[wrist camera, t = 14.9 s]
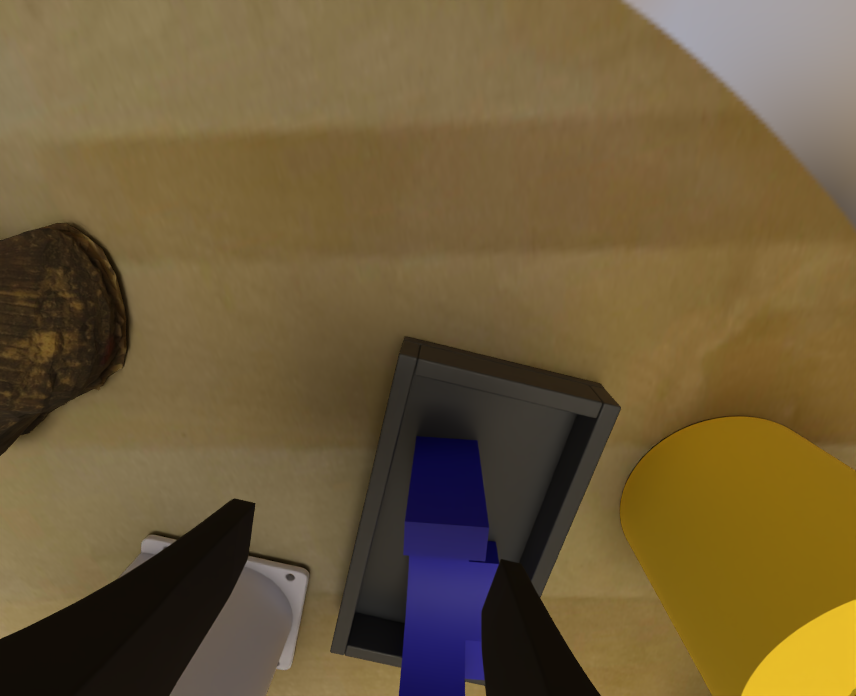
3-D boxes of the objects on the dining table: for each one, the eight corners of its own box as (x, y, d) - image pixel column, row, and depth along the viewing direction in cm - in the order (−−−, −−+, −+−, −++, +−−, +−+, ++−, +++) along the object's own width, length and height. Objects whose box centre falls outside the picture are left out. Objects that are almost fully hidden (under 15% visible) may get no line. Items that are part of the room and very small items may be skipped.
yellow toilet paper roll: (865, 448, 21) (1188, 632, 12) (757, 597, 24) (948, 834, 15) (673, 392, 20) (856, 538, 11) (590, 552, 23) (680, 767, 14)
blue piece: (485, 625, 24) (497, 752, 19) (407, 619, 24) (395, 743, 19) (508, 442, 21) (531, 530, 15) (416, 436, 21) (404, 521, 15)
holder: (341, 609, 25) (329, 653, 23) (404, 336, 20) (399, 353, 17) (496, 643, 26) (501, 690, 23) (600, 383, 20) (622, 407, 18)
